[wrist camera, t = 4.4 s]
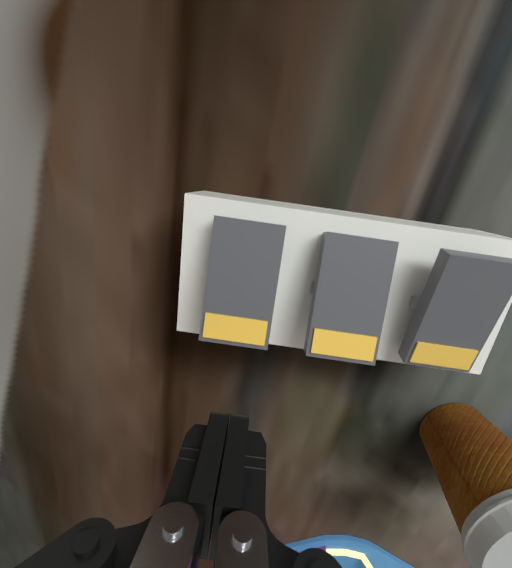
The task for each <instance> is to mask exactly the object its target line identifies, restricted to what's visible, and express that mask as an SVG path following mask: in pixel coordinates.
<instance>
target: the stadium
mask: <svg viewBox="0 0 512 568" xmlns="http://www.w3.org/2000/svg"><path fill="white" fill-rule="evenodd" d="M285 545H286V546H288V547H290V548H291V549H293V550H295V551H297V552H299V553H301V552H302V551H304V550H306V549H308V548H319V549H322V550H324V551H326V552H328V553H329V554H331V555H332V556H333V557H334V558H335V559H336V560H337V561H338V563H339V564H340V565H341V567H342V568H414V567H412V566H410V565H409V564H407V563H405V562H403V561H402V560H400V559H398V558H397V557H395V556H393V555H392V554H390V553H388V552H387V551H385V550H383V549H382V548H380V547H378V546H376V545H375V544H373V543H371V542H370V541H368V540H364V539H361V538H357V537H353V536H349V535H323V536H318V537H314V538H310V539H306V540H302V541H298V542H294V543H290V544H285Z"/></svg>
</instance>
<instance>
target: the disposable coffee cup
mask: <svg viewBox="0 0 512 568" xmlns="http://www.w3.org/2000/svg"><path fill="white" fill-rule="evenodd" d="M419 432H420V437H421V439H422V442H423V444H424V446H425V449H426V451H427V454H428V456H429V459H430V461H431V463H432V466H433V468H434V471H435V473H436V476H437V478H438V480H439V483H440V485H441V487H442V490H443V493H444V495H445V498H446V500H447V502H448V505H449V507H450V509H451V512H452V514H453V517H454V519H455V522H456V524H457V526H458V529H459V531H460V534H461V540H462V545H463V553H464V556H465V558H466V561H467V562H468V564H469V566H470V567H471V568H512V441H511V440H510V439H509V438H508V437H507V436H506V435H504V434H503V433H502V432H501V431H500V430H499V429H497V428H496V427H495V426H494V425H493V424H492V423H490V422H489V421H488V420H487V419H486V418H485V417H484V416H482V415H481V414H480V413H479V412H478V411H477V410H476V409H474V408H473V407H471V406H469V405H466V404H461V403H451V404H445V405H442V406H440V407H437V408H435V409H433V410H432V411H431V412H429V413H428V414H427V415H426V416H425V417H424V419H423V420H422V422H421V425H420V430H419Z"/></svg>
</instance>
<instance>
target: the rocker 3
mask: <svg viewBox="0 0 512 568" xmlns="http://www.w3.org/2000/svg"><path fill="white" fill-rule="evenodd" d="M511 296H512V258H506V257H499V256H492V255H485V254H478V253H471V252H464V251H457V250H451V249H444V248H440V251H439V253H438V256H437V258H436V261H435V263H434V265H433V268H432V270H431V273H430V275H429V278H428V280H427V282H426V285H425V287H424V290H423V292H422V295H421V297H420V299H419V302H418V304H417V307H416V309H415V312H414V314H413V317H412V319H411V321H410V324H409V326H408V329H407V331H406V334H405V336H404V338H403V341H402V343H401V346H400V348H399V351H398V354H399V356H400V357H401V359H402V361H403V363H405V364H412V365H418V366H425V367H432V368H439V369H446V370H453V371H460V372H467V373H469V371H470V370H471V368H472V366H473V364H474V362H475V361H476V359H477V357H478V355H479V353H480V352H481V350H482V348H483V346H484V344H485V343H486V341H487V339H488V337H489V335H490V334H491V332H492V330H493V328H494V327H495V325H496V323H497V321H498V319H499V318H500V316H501V314H502V312H503V310H504V309H505V307H506V305H507V303H508V301H509V300H510V298H511Z"/></svg>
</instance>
